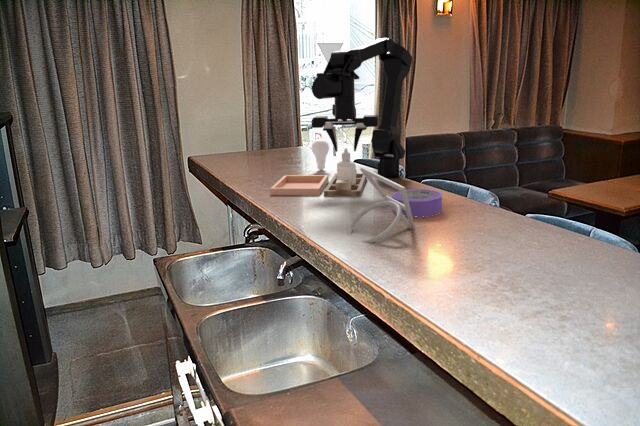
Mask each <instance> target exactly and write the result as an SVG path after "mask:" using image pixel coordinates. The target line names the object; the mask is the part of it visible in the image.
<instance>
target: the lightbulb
mask: <svg viewBox="0 0 640 426" xmlns="http://www.w3.org/2000/svg"><path fill="white" fill-rule="evenodd" d="M329 151H330V145H329V142H328V141H327V140H325V139H324V138H318V139H315V140H314V141H313V142H312V144H311V152H312V154H313V155H314V157H315V160H316V164H317V169H318V170H319V171H324V169H325V168H326V164H325V163H326V160H327V159H326V158H327V156H328V153H329Z"/></svg>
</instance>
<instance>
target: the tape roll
mask: <svg viewBox="0 0 640 426" xmlns="http://www.w3.org/2000/svg"><path fill="white" fill-rule="evenodd" d="M406 193H407V197H408V201H409V205H410V209H411V214H412V216H417V217H416V218H426V217H425V216H429V217H433V216H432V215H435V216H437V215H436V214H438V215H440V214H441V213H442V212H443V211H442V210H443V208H442V206H443V194H442V193H441V192H440V191H437V190H433V189H428V188H427V189H426V188H425V189H424V188H413V189H411V188H410V189H406ZM391 196H392V197H391V198H393V199H394V200H396V201H398V202H400V203H402V204H404V202H403V198H402V194H401V191H400V190H398V191H395V192H394V193H393V194H391ZM391 209H392V208H391ZM401 210H402V214H403V215H405V217H407V213H406V211H405V210H403V209H401ZM441 211H442V212H441ZM391 212H392V213H393V212H394V214H395V213H396V212H395V211H394V210H393V209H392V211H391ZM439 213H440V214H439ZM396 215H397V213H396ZM423 216H424V217H423Z"/></svg>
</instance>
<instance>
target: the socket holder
mask: <svg viewBox="0 0 640 426" xmlns="http://www.w3.org/2000/svg"><path fill="white" fill-rule="evenodd" d="M367 180H368V179H367V178H366V176H365V175H364V174H363V173H362V172H357V178H356V185H351V190H336V184H335V183H336V181H337V172H336V173H334V174H333V176H332V177H331V180H329V183H328V184H327V186H326V187H325V188H324V190H323V197H361V196H362V192H363V190H364V188H365V186H366V182H367Z"/></svg>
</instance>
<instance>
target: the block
mask: <svg viewBox="0 0 640 426" xmlns="http://www.w3.org/2000/svg"><path fill="white" fill-rule="evenodd" d="M335 185H336V190H351V180H337V181H336V183H335Z"/></svg>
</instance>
